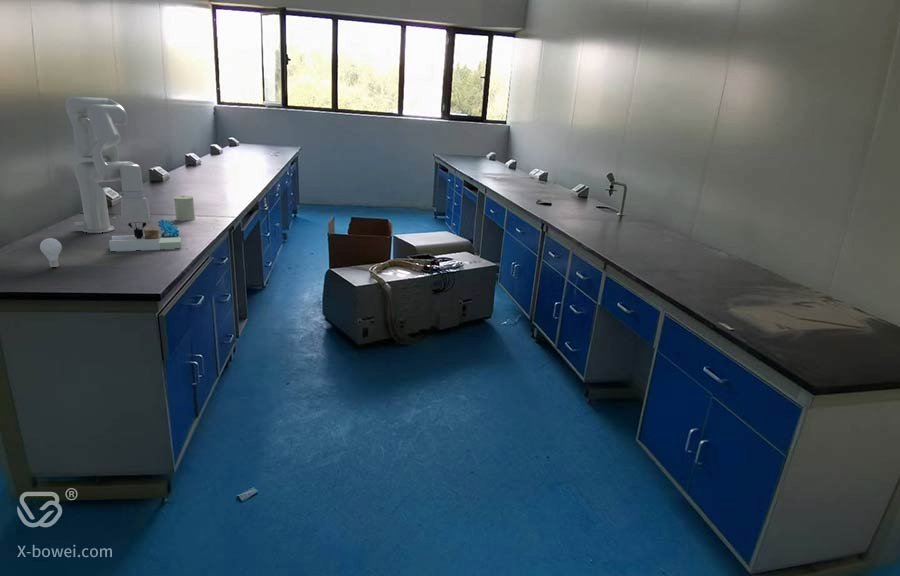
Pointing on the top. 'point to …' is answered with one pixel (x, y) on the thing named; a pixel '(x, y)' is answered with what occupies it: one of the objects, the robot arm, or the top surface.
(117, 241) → the trough
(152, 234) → the block
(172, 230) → the gear
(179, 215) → the can
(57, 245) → the lightbulb
